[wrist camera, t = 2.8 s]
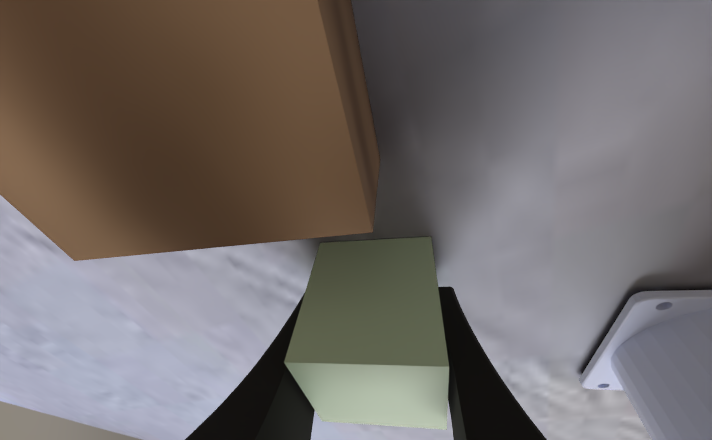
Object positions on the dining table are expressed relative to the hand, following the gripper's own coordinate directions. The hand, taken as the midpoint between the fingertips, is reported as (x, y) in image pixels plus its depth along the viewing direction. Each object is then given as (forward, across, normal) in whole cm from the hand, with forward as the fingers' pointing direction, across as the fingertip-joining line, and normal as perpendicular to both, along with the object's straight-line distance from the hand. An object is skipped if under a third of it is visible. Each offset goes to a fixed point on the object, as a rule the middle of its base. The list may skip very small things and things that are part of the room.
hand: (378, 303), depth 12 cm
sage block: (+1, 0, 0) cm, 1 cm away
